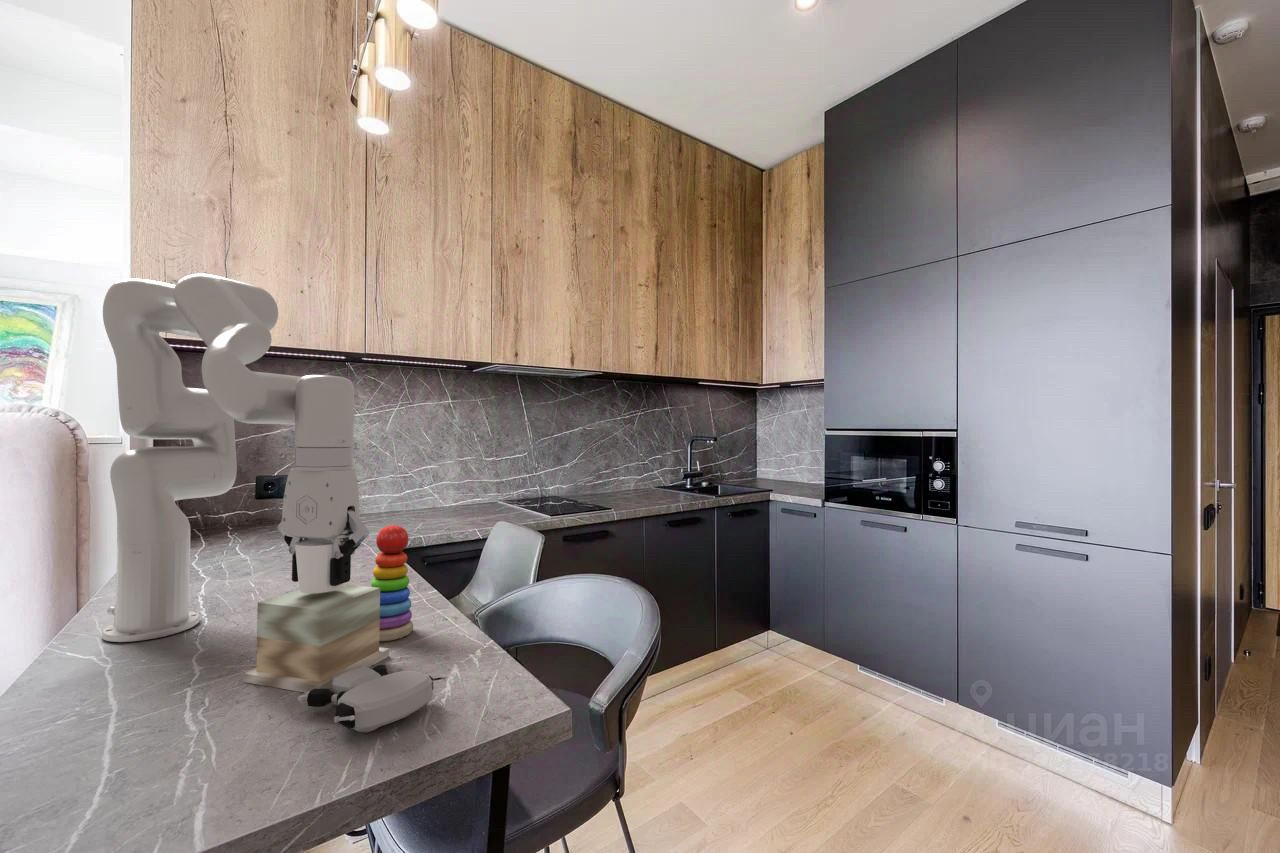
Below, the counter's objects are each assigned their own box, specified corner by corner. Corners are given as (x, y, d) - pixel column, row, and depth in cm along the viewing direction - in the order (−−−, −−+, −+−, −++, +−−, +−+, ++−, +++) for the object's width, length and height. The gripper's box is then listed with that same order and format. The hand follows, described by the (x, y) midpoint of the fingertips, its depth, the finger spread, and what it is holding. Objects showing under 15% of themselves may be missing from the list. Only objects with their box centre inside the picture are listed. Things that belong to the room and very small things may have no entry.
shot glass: (358, 584, 82) (358, 538, 82) (313, 597, 75) (314, 546, 76) (328, 579, 85) (328, 534, 85) (283, 590, 78) (283, 542, 78)
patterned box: (243, 681, 75) (245, 603, 75) (321, 646, 88) (322, 579, 88) (319, 695, 72) (321, 613, 72) (389, 656, 84) (390, 586, 85)
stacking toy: (393, 645, 89) (395, 530, 89) (351, 641, 90) (353, 528, 91) (422, 628, 96) (424, 522, 97) (382, 624, 98) (384, 520, 98)
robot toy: (290, 723, 67) (356, 755, 59) (289, 685, 67) (355, 712, 59) (384, 685, 77) (451, 708, 69) (383, 652, 77) (450, 671, 69)
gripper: (254, 458, 79) (251, 582, 79) (352, 462, 74) (349, 594, 74) (299, 456, 86) (296, 570, 86) (391, 460, 82) (388, 580, 81)
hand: (321, 580), depth 80 cm, fingers closed on shot glass, 6 cm apart
